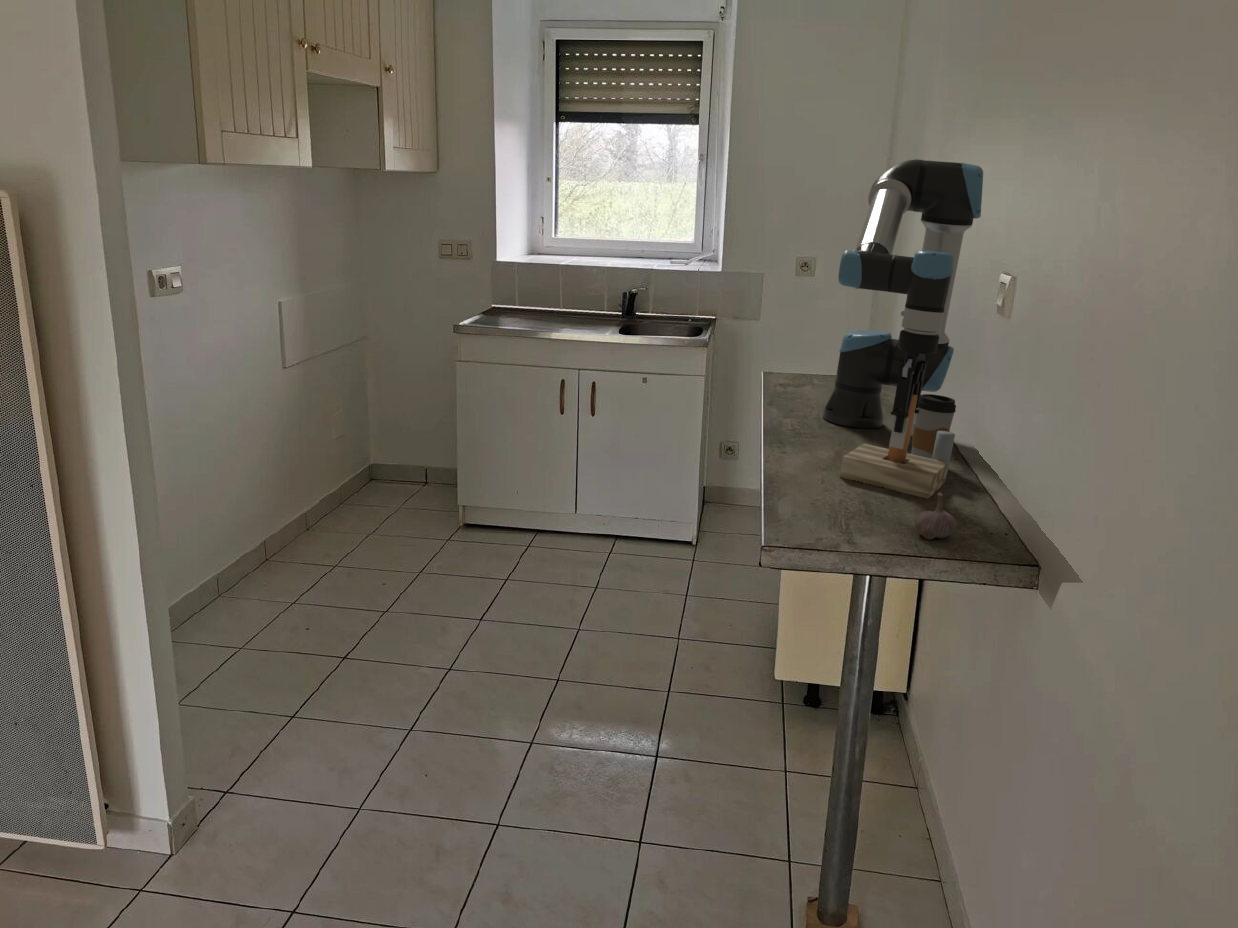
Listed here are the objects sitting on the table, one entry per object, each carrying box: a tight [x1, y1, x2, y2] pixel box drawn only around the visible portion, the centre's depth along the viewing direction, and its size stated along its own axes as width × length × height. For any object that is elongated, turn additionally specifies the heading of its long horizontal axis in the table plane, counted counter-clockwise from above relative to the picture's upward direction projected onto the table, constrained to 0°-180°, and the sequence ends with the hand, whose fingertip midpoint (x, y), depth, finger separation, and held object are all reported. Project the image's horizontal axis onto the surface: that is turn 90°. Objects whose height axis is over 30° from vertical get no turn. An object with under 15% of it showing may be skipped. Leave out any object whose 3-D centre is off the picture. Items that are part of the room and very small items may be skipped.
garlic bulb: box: [914, 492, 958, 540], centre depth 166 cm, size 8×7×8 cm
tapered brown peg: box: [887, 394, 918, 464], centre depth 195 cm, size 4×4×14 cm
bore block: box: [839, 443, 950, 500], centre depth 197 cm, size 14×18×4 cm
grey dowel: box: [932, 431, 956, 482], centre depth 201 cm, size 4×4×10 cm
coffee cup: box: [910, 393, 957, 459], centre depth 211 cm, size 8×8×15 cm
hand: (898, 445), depth 196 cm, fingers closed on tapered brown peg, 3 cm apart
